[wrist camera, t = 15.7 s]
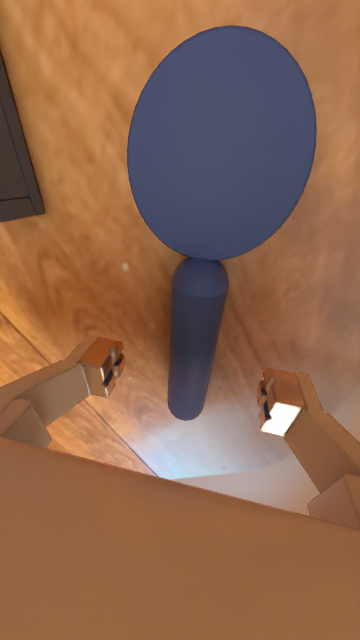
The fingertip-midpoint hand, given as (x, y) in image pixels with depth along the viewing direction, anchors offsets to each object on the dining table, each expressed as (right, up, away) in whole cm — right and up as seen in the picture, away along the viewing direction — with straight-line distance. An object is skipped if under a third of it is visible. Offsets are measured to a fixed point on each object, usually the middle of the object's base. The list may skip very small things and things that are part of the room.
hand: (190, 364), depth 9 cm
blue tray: (-12, +15, -5) cm, 19 cm away
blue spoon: (0, +3, 0) cm, 3 cm away
